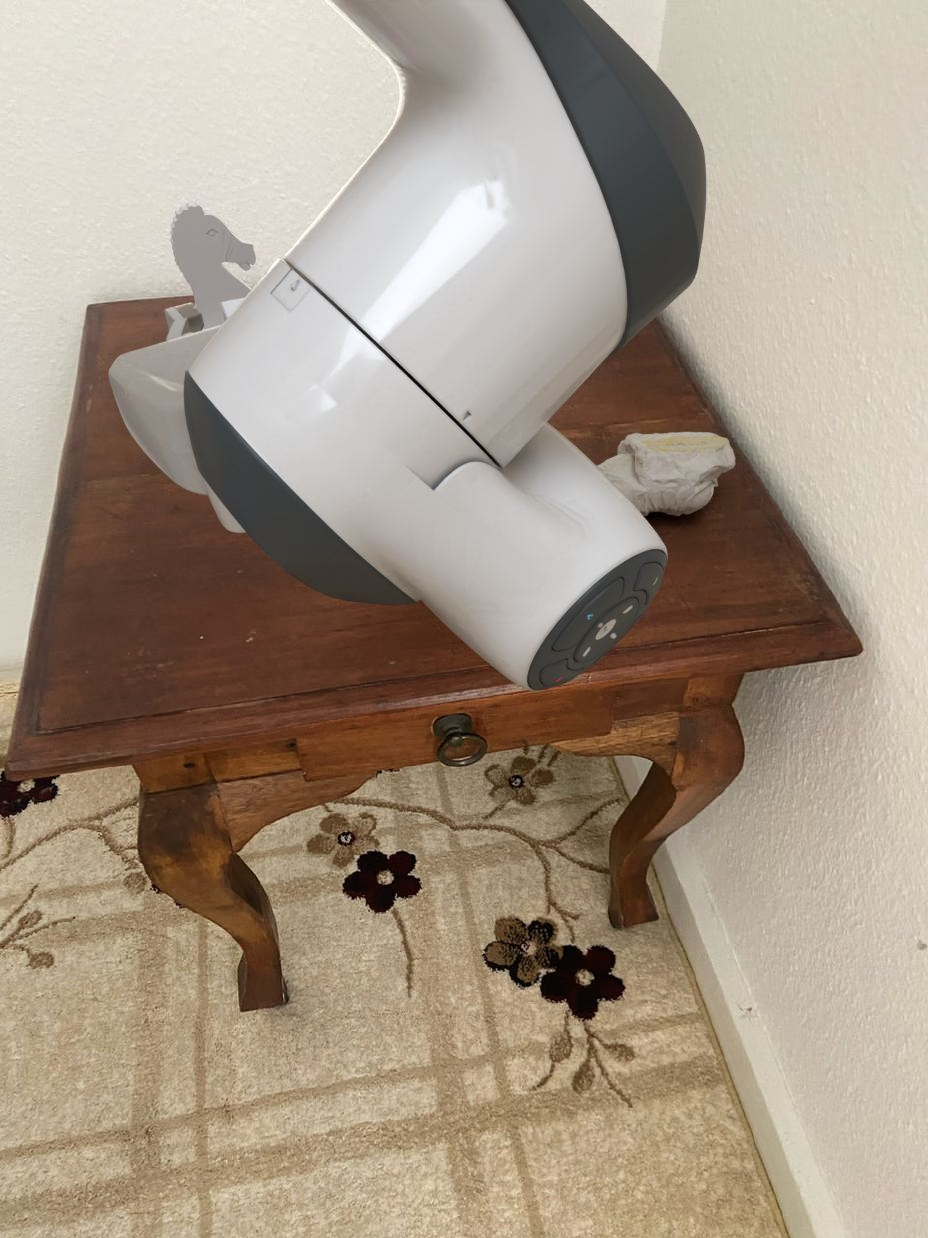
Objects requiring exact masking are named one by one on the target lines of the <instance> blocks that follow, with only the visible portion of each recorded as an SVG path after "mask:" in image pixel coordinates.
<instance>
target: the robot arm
mask: <svg viewBox="0 0 928 1238" xmlns="http://www.w3.org/2000/svg"><path fill="white" fill-rule="evenodd" d="M324 1H325V3H326V4H327V5H328V6H330V8H332V9H333V10H334V11H335V12H336V13H337V14H338V15H339V16H340V17H341V18H342V19H343V20H344V21H345V22H346V23H347V24H348V25H349V26H351V27H352V29H354V31H356V32H357V33H358V35H360V36H361V37H362V38H363V39H364V40H365V41H366V42H367V43H368V44H369V45H371V47H373V49H375V50H376V51H377V52H378V53H379V54H380V55H381V57H383V58H384V59H385V60H386V61H387V62H388V63H389V65H390V66H391V67H392V69H393V71H394V73H395V76H396V79H397V81H398V82H397V83H398V87H399V88H398V89H399V100H398V101H399V102H398V106H397V110H396V114H395V117H394V120H393V121H392V124H391V127H390V128H389V129H388V131H387V133H386V134H385V136H384V137H383V139H382V140H381V141H380V142H379V143H378V145H377V146H376V147H375V149H374V150H373V151H372V152H371V153H370V154H369V155H368V157H367V158H366V159H365V161H364V162H363V163H362V164H361V165H360V166H359V168H357V170H356V171H355V172H354V173H353V174H352V176H351V177H350V178H349V179H348V180H347V181H346V183H345V184H344V185H343V186H342V187H341V188H340V190H339V191H338V192H337V193H336V194H335V196H334V197H333V198H332V199H331V200H330V202H329V203H328V204H327V205H326V206H325V208H324V209H323V210H322V211H321V212H320V213H319V214H318V216H317V217H316V218H315V219H314V220H313V222H312V223H311V224H310V225H309V226H308V228H307V229H306V230H305V231H304V233H303V234H301V236H299V238H298V239H297V240H296V242H295V243H294V244H293V245H292V246H291V247H290V249H289V250H288V251H287V252H286V253H285V255H284V256H283V257H282V258H277V259H276V260H275V261H274V262H273V264H272V265H271V266H270V267H269V268H268V269H267V271H266V272H265V273H264V274H263V275H262V277H261V278H260V279H259V280H258V281H257V283H256V284H255V285H254V286H253V287H252V290H251V291H250V292H249V293H248V295H247V296H246V297H245V298H244V299H243V301H242V302H241V303H240V304H239V305H238V307H237V308H236V309H235V310H234V311H233V313H232V314H231V315H230V316H229V318H228V319H227V320H226V321H225V322H224V324H222V325H219V326H215V327H212V328H209V329H205V330H203V327H204V321H203V317H202V313H201V312H200V311H199V310H198V309H197V308H194V306H195V304H194V303H193V302H188V303H184V304H180V305H176V306H171V307H168V308H165V309H164V316H165V317H164V318H165V320H166V324H167V327H168V333H167V335H166V337H165V341H162V342H158V343H155V344H152V345H149V346H145V347H142V348H138V349H135V350H131V351H128V352H124V353H122V354H120V355H118V356H117V357H116V358H115V360H114V361H113V363H112V364H111V365H110V368H109V369H108V373H107V374H108V380H109V383H110V387H111V391H112V393H113V396H114V401H115V402H116V405H117V408H118V410H119V413H120V415H121V418H122V420H123V423H124V425H125V427H126V429H127V430H128V432H129V434H130V435H131V437H132V439H133V440H134V441H135V443H137V445H138V446H139V448H140V449H141V450H142V451H143V452H144V454H146V456H147V458H149V459H150V460H151V461H152V463H153V464H154V465H156V466H157V467H158V469H160V471H161V472H163V474H165V475H166V477H168V478H169V479H170V480H171V481H172V482H173V483H175V484H176V485H177V486H179V487H180V488H182V489H184V490H186V491H188V492H190V493H193V494H197V495H201V496H207V497H208V499H209V502H210V504H211V506H212V508H213V510H214V512H215V514H216V516H217V519H218V520H219V522H220V524H221V525H222V527H224V528H225V529H226V530H227V531H229V532H231V533H236V534H247V535H248V536H249V537H250V539H252V541H253V542H254V543H255V544H256V545H257V546H258V548H260V549H261V550H262V552H263V553H265V555H267V556H268V557H269V558H270V559H271V560H272V561H273V563H275V564H276V565H277V566H279V567H280V568H281V569H282V570H284V571H285V572H286V573H288V575H290V576H292V577H293V578H294V579H296V580H297V581H299V582H301V583H302V584H303V585H305V586H306V587H308V588H310V589H312V590H314V591H315V592H317V593H320V594H322V595H324V596H326V597H329V598H331V599H336V600H339V601H343V602H351V603H359V604H371V605H380V606H393V607H394V606H397V607H399V606H400V607H401V606H412V605H413V606H414V605H418V602H419V601H421V602H422V603H423V604H424V605H425V606H426V607H427V608H428V609H429V610H430V611H431V612H432V613H433V614H434V615H435V617H436V618H438V619H439V621H441V622H442V623H443V624H444V625H445V626H446V627H447V628H448V629H449V630H450V631H451V632H452V633H453V634H454V635H455V636H457V637H458V638H459V640H461V641H462V642H463V643H464V644H465V645H467V647H468V648H470V649H471V650H472V651H474V652H475V653H476V654H477V655H478V656H479V657H480V658H482V659H483V660H484V661H485V662H486V663H488V664H489V665H490V666H492V667H493V668H494V669H495V670H496V671H497V672H499V674H501V675H502V676H504V677H505V678H506V679H507V680H509V681H510V682H512V683H513V684H514V685H517V686H518V687H520V688H521V689H524V690H525V691H530V692H542V691H545V690H549V689H551V688H554V687H560V686H562V685H565V684H567V683H569V682H572V681H573V680H575V679H576V678H577V677H578V676H579V675H581V674H582V673H584V672H586V671H588V670H590V669H591V668H592V667H594V666H595V665H596V664H597V663H598V662H599V661H600V660H601V659H602V658H604V657H605V656H606V655H607V653H609V652H610V651H611V650H612V649H613V648H614V647H615V646H616V645H617V644H618V643H619V642H620V641H621V640H622V639H623V638H624V637H625V636H626V635H627V634H628V632H630V630H631V629H633V627H634V626H635V625H636V624H637V623H638V622H639V621H640V619H641V618H642V617H643V616H644V614H645V613H646V612H647V611H648V609H649V606H650V605H651V603H652V601H653V600H654V598H655V597H656V596H657V594H658V592H659V591H660V588H661V586H662V583H663V580H664V575H665V572H666V569H667V566H668V560H669V559H668V557H669V556H668V555H669V554H668V550H667V546H666V545H665V543H664V542H663V539H662V538H661V537H660V536H659V533H657V531H656V530H655V529H654V528H653V526H652V525H651V524H650V522H649V521H648V520H647V519H646V518H645V516H643V515H642V514H641V513H640V512H639V511H638V509H637V508H636V507H635V506H634V505H633V504H632V503H631V502H630V501H629V500H628V498H627V497H626V496H625V495H624V494H623V493H622V492H621V491H620V490H619V489H618V487H617V486H616V485H615V484H614V483H613V482H612V481H611V480H610V479H609V478H608V477H607V476H606V475H605V474H604V473H603V472H602V471H601V470H600V469H599V468H598V467H597V464H596V463H595V462H593V461H592V459H590V458H589V457H588V456H587V455H586V454H585V453H584V452H583V451H582V450H581V449H580V448H579V447H577V446H576V445H575V444H574V443H573V442H571V440H570V439H568V438H567V437H566V436H565V435H564V434H562V432H560V431H559V430H558V429H557V428H555V426H553V425H552V424H551V423H549V420H550V419H551V418H552V417H553V416H554V415H555V414H556V413H557V412H558V411H559V410H560V409H561V407H562V406H563V405H564V404H565V403H566V402H567V401H568V400H569V399H570V398H571V397H572V395H574V393H575V392H576V391H577V390H578V389H579V388H580V387H581V386H582V385H583V384H584V382H585V381H586V380H587V379H588V378H589V377H590V376H591V375H592V374H593V373H594V372H595V371H596V369H598V367H600V365H602V363H603V362H604V361H605V360H606V359H607V358H608V357H612V356H614V355H615V354H617V353H618V352H619V351H621V349H622V348H623V347H625V346H626V345H627V344H628V343H629V342H630V341H631V340H633V338H635V337H636V336H637V335H638V334H639V333H640V332H641V331H642V330H643V329H645V328H646V327H647V326H648V325H649V324H650V323H651V322H652V321H653V320H654V319H656V318H657V317H658V316H659V315H660V314H661V313H662V312H663V311H665V310H666V308H667V307H669V306H670V305H671V304H672V303H673V302H674V301H675V300H676V299H677V298H678V297H680V296H681V295H682V294H683V293H684V292H685V291H686V290H687V289H688V288H689V287H691V285H692V284H693V282H694V281H695V278H696V276H697V273H698V268H699V264H700V260H701V259H700V257H701V253H702V246H703V241H704V230H705V221H706V213H707V212H706V210H707V167H706V155H705V148H704V146H703V141H702V139H701V137H700V133H699V132H698V130H697V128H696V126H695V125H694V123H693V121H692V119H691V118H690V115H689V114H688V113H687V111H686V110H685V108H684V107H683V105H682V104H681V103H680V101H679V100H678V99H677V97H676V95H674V93H673V92H672V90H670V89H669V87H668V86H667V85H666V83H665V82H664V81H663V80H662V79H661V77H659V75H658V74H657V73H656V72H655V71H654V70H653V69H652V67H651V66H650V65H649V64H648V63H647V62H646V61H645V60H644V59H643V58H642V57H641V56H640V55H639V54H638V53H637V52H636V50H634V49H633V48H632V46H631V45H629V44H628V42H626V41H625V39H624V38H622V36H621V35H620V34H619V33H618V32H617V31H615V30H614V28H613V27H611V25H609V24H608V22H606V21H605V19H604V18H603V17H602V16H600V14H599V13H597V12H596V11H595V10H594V9H593V8H592V6H590V5H589V4H588V3H587V1H585V0H324Z"/></svg>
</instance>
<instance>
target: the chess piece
mask: <svg viewBox="0 0 928 1238" xmlns="http://www.w3.org/2000/svg"><path fill="white" fill-rule="evenodd" d="M174 212H175V213H174V214H175V216H173V217H172V222H171V223H170V226H171V227H170V228H171V230H170V231H169V232H170V235H171V237H170V240H169V241H170V243H171V249H172V255H173V257H174V263H175V265H176V266H177V267H178V269H179V272H181V273H182V275H183V277H184V279H185V281H186V283H187V284H188V285H189V287H190V289H191V291H192V295H193V300H194V303H193V304H194V308H197V309H198V310H199V311H200V312H201V313H202V317H203V321H204V327H203V330H205V329H209V328H212V327H215V326H219V325H222V324H224V322H225V319H224V315H223V310H222V306H221V302H225V301H229V300H234V299H240V298H245V297H246V296H247V295H248V293H249V292H250V291H251V290H252V289H253V287H251V286H250V285H249V284H248V283H246V282H245V281H244V280H242V279H241V278H240V277H239V276H237V275H236V274H235V273H234V272H232V271H231V270H230V269H228V268H227V266H225V265H224V264H223V263H230V264H236V265H238V267H239V268H240V269H242V270H243V271H247V272H248V271H250V270H251V268H252V266H255V264H256V262H257V256H256V253H255V250H254V244H253V242H252V241H250V240H244V239H241V238H239V237H238V236H237V235H236V234H235V233H233V232H232V230H231V229H230V228H229V227H228V225H227V224H226V223H225V222H224V220H223V219H221V217H220V216H219V215H218V214H217V213H215V212H213V211H211V210H204V209H203V207H202V205H201V203H200V202H199V201H197V200H195V201H194V202H192V201H187V202H186V204H185V205H180V208H179V209H175V211H174ZM251 265H252V266H251Z"/></svg>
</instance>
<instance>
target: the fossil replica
mask: <svg viewBox="0 0 928 1238" xmlns="http://www.w3.org/2000/svg"><path fill="white" fill-rule="evenodd" d="M616 451H617V455H614V456H613V457H610V458H607V459H606V460H604V462H601V463H600V464H596V466H597V467H598V468H599V469H600V470H601V471H602V472H603V473H604V474H605V475H606V476H607V477H608V478H609V479H610V480H611V481H612V482H613V483H614V484H615V485H616V486H617V487H618V489H619V490H620V491H621V492H622V493H623V494H624V495H625V496H626V497H627V498H628V500H629V501H630V502H631V503H632V504H633V505H634V506H635V507H636V508H637V509H638V511H639V512H640V513H641V514H642V515H643V517H647V516H649V514H650V513H659V512H660V513H664V514H666V515H670V516H676V517H680V516H682V515H690V514H693V513H694V512H695V513H696V512H697V511H699V510H701V509H702V508H704V507H705V506H707V505H708V503H709V502H710V501H711V499H712V496H713V495H714V488H717V487H719V483H718V478H720V476H721V475H722V474H726V473H727V472H729V471H731V470H732V469H734V468H735V466H736V456H735V455H736V454H735V453H734V449H733V448H732V447H731V444H730V440H729V439H728V438H727V437H723V436H720V435H718V434H716V433H713V432H708V431H705V432H704V431H679V432H667V433H666V432H664V433H660V432H654V433H644V434H643V433H639V432H634V433H631V434H627V435H626V436H625V438H624V439H622V440H621V441H620V442H619V445H618V446H617V447H616Z"/></svg>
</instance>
